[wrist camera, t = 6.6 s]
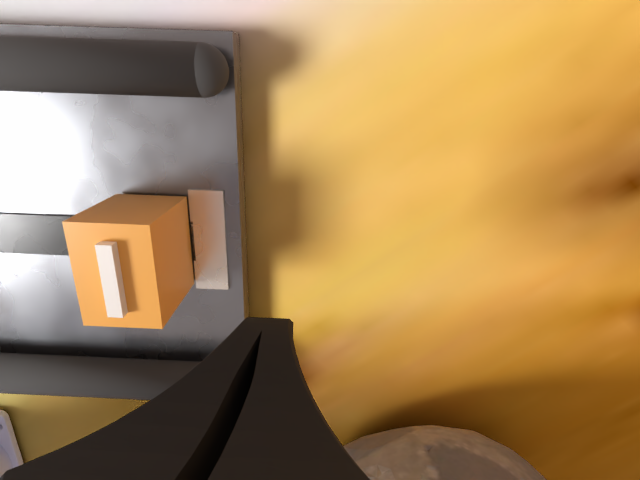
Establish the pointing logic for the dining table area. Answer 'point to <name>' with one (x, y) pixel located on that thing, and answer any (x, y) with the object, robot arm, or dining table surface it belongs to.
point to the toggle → (131, 260)
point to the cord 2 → (111, 66)
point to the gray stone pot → (437, 456)
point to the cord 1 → (89, 375)
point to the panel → (120, 178)
